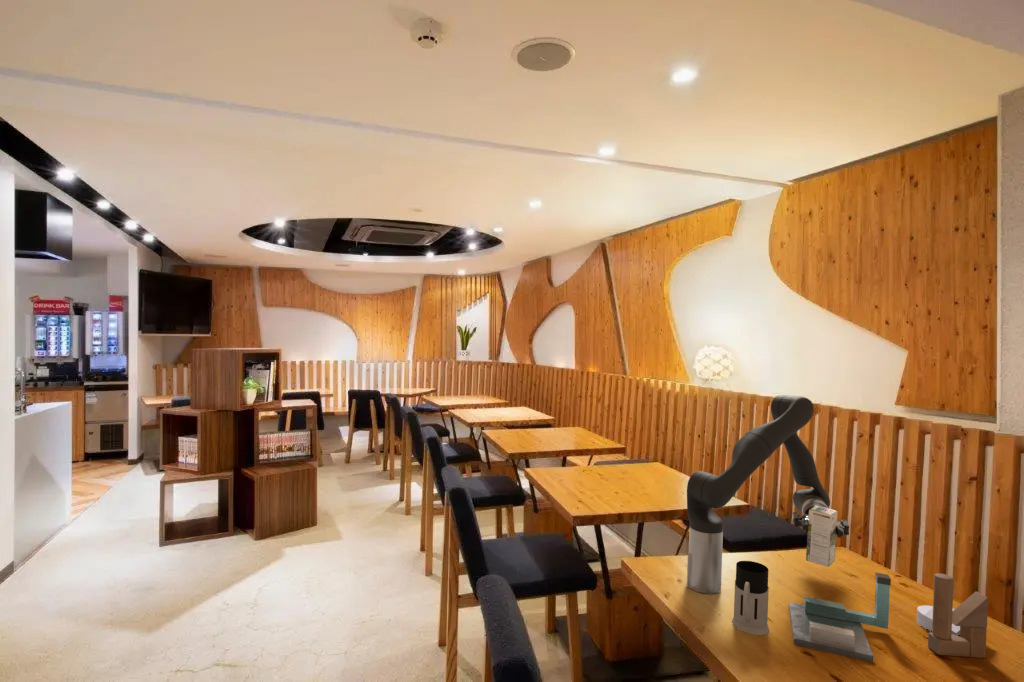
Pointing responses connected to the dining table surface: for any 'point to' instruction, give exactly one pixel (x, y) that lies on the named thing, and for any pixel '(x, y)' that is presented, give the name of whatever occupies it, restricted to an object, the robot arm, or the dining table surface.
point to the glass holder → (751, 598)
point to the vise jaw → (841, 613)
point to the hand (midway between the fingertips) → (823, 531)
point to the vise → (829, 634)
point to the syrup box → (821, 535)
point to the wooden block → (957, 621)
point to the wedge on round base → (931, 619)
